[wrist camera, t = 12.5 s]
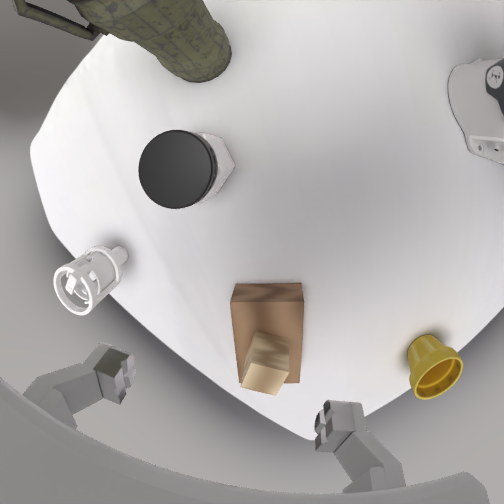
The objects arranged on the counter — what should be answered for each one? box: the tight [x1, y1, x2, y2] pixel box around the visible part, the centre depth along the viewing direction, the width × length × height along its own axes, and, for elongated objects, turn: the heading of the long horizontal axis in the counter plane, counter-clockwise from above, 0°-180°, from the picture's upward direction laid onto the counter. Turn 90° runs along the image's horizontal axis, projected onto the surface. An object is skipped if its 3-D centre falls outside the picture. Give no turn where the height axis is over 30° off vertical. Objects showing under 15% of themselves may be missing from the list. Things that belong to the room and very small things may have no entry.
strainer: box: [54, 245, 128, 315], centre depth 36 cm, size 7×7×15 cm
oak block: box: [241, 331, 289, 396], centre depth 37 cm, size 5×5×7 cm
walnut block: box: [230, 283, 304, 383], centre depth 43 cm, size 10×16×6 cm, turn 3°
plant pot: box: [408, 335, 463, 399], centre depth 40 cm, size 10×10×10 cm
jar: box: [139, 130, 235, 209], centre depth 32 cm, size 9×8×12 cm
